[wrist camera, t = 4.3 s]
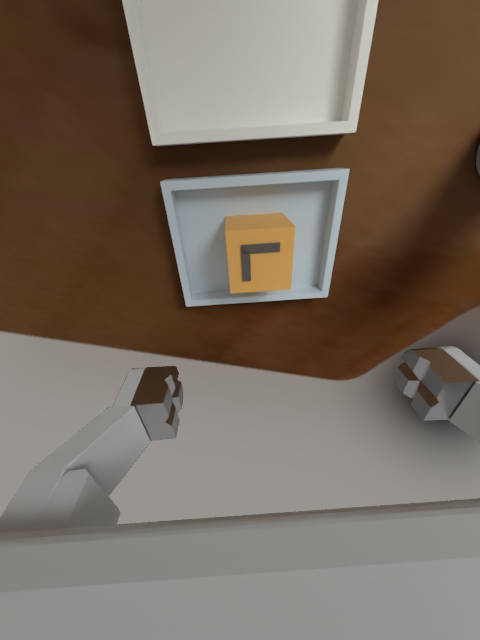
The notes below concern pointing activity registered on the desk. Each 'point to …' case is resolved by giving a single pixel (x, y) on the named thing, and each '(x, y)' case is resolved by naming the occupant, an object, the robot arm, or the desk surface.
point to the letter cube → (259, 252)
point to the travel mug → (478, 160)
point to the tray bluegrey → (247, 199)
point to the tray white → (250, 67)
